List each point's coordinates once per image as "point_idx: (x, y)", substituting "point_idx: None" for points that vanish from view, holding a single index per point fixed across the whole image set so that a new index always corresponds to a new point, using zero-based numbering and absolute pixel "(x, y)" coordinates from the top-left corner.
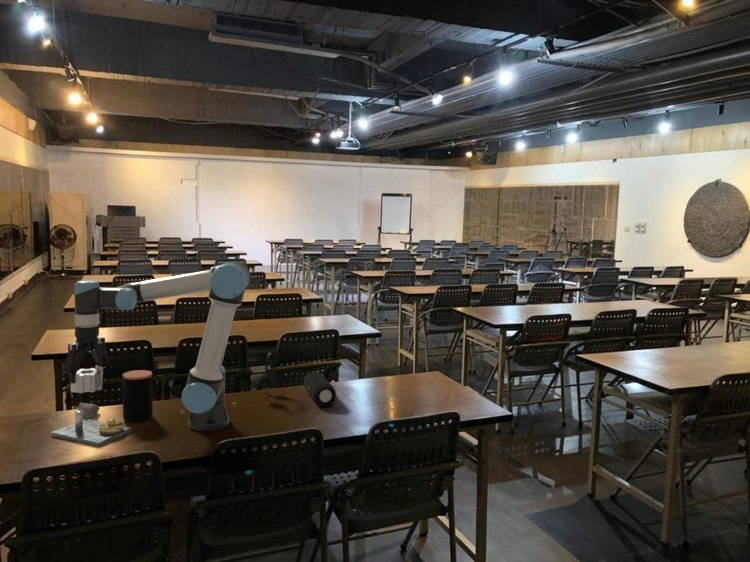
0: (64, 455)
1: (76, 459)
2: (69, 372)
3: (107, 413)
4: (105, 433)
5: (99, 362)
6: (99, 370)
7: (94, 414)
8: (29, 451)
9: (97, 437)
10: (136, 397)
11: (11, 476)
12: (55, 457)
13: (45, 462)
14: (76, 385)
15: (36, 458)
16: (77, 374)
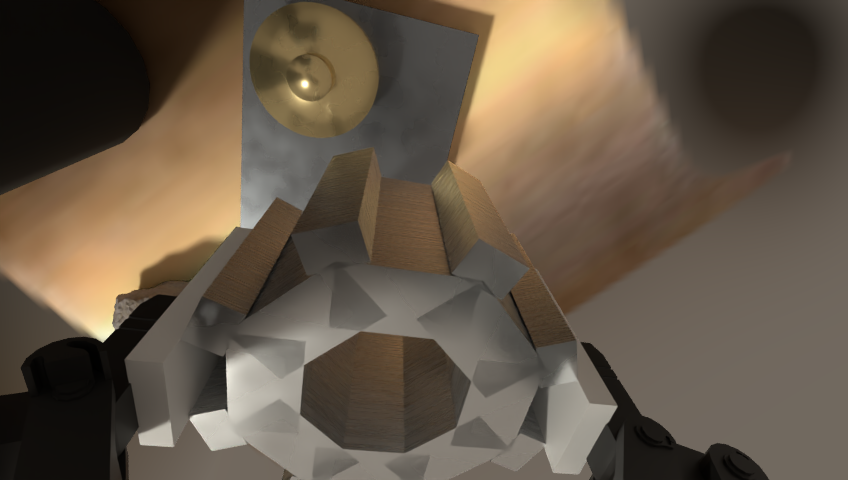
0: (575, 125)
1: (615, 45)
2: (756, 465)
3: (113, 253)
4: (378, 67)
5: (116, 458)
6: (248, 319)
7: (167, 284)
8: (547, 266)
9: (419, 84)
10: (4, 31)
11: (750, 181)
12: (595, 146)
13: (641, 151)
14: (560, 311)
15: (604, 205)
16: (602, 399)
